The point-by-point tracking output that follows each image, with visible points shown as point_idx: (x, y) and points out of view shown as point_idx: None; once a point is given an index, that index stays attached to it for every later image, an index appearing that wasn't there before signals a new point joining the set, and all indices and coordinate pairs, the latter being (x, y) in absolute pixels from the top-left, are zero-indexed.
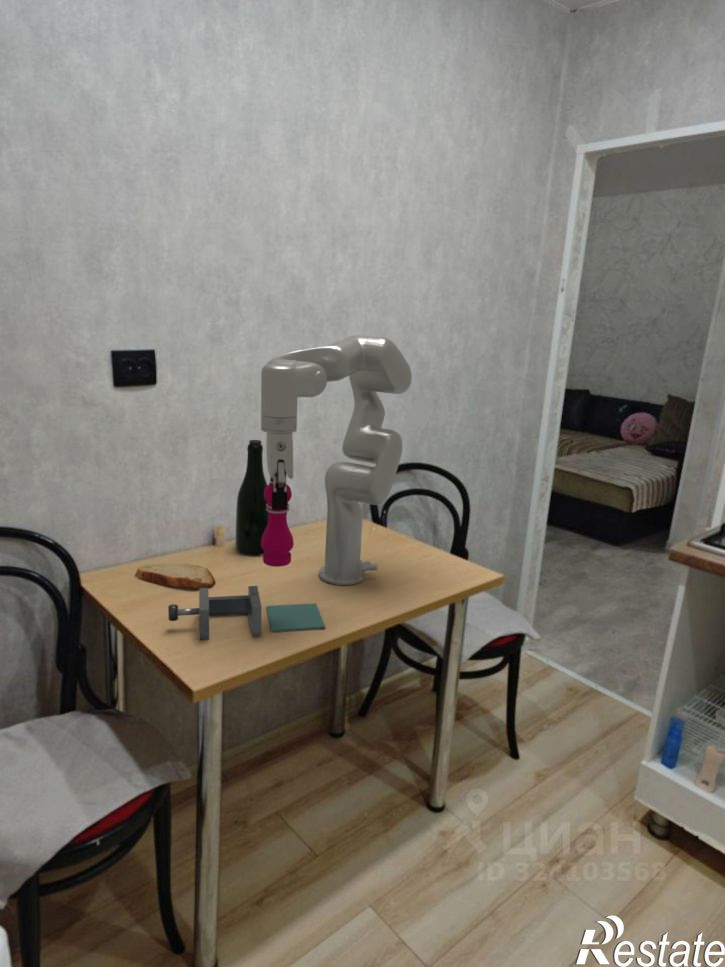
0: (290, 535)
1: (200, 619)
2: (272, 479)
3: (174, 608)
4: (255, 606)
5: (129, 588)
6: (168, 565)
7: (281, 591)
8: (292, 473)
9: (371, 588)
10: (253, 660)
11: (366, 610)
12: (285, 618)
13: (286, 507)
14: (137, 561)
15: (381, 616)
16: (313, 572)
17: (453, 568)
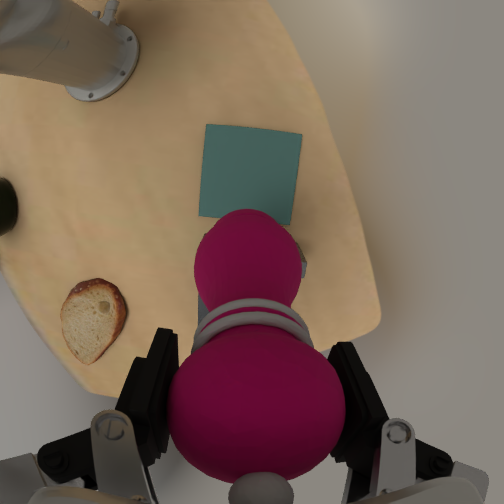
0: (278, 244)
1: None
2: (148, 469)
3: None
4: (303, 272)
5: (123, 371)
6: (67, 332)
7: (136, 176)
8: (482, 501)
9: (162, 19)
10: (357, 264)
11: (248, 45)
12: (255, 193)
13: (352, 347)
14: (53, 350)
15: (277, 31)
16: (74, 109)
17: None
